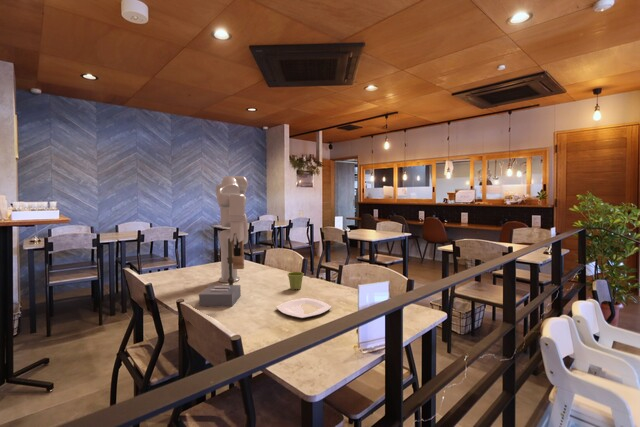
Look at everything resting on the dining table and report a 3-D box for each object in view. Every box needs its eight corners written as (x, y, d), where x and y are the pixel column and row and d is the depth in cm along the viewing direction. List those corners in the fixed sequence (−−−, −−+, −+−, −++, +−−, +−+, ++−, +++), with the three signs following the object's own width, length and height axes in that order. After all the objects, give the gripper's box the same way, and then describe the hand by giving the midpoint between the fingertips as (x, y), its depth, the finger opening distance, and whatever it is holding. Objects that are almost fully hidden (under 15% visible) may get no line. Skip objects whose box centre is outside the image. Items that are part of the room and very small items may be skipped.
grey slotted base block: (210, 296, 180) (210, 283, 180) (240, 296, 180) (240, 283, 179) (199, 306, 164) (199, 293, 164) (232, 306, 164) (231, 293, 163)
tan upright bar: (234, 267, 171) (233, 240, 170) (244, 267, 171) (243, 240, 170) (233, 269, 169) (232, 241, 168) (243, 268, 169) (242, 241, 168)
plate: (269, 310, 159) (269, 306, 159) (305, 299, 175) (305, 295, 175) (301, 324, 143) (301, 320, 143) (338, 310, 159) (338, 306, 159)
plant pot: (284, 289, 191) (284, 274, 190) (293, 285, 199) (293, 271, 199) (298, 292, 187) (298, 276, 186) (306, 287, 195) (306, 272, 194)
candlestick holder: (224, 293, 184) (223, 239, 181) (221, 289, 192) (219, 237, 190) (241, 291, 188) (240, 238, 186) (237, 287, 196) (236, 235, 194)
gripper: (233, 217, 176) (234, 252, 177) (225, 220, 160) (226, 258, 162) (248, 217, 176) (248, 252, 177) (241, 220, 160) (241, 258, 162)
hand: (238, 255), depth 170 cm, fingers closed on tan upright bar, 2 cm apart
